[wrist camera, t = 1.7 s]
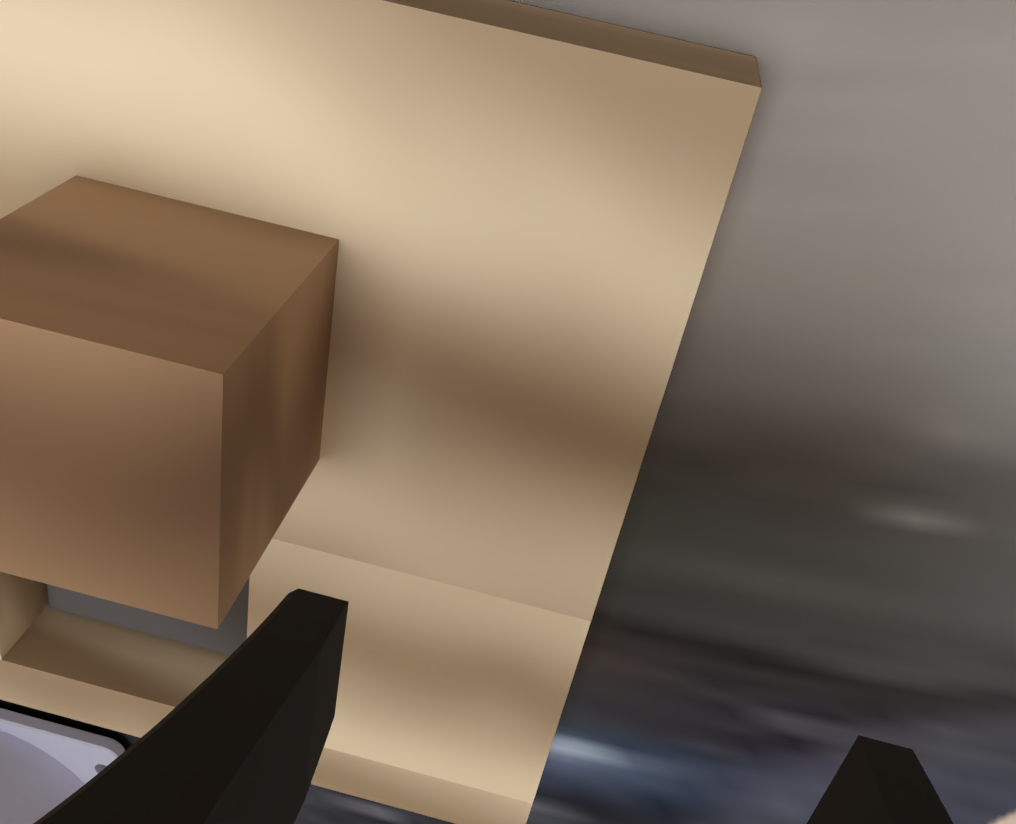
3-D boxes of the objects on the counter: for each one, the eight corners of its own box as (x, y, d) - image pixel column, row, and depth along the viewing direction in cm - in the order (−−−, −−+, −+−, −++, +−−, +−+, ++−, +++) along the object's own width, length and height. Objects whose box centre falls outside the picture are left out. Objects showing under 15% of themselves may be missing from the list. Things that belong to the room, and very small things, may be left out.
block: (319, 459, 18) (217, 629, 14) (91, 401, 18) (-68, 553, 15) (339, 239, 16) (223, 374, 12) (76, 175, 16) (-120, 288, 12)
